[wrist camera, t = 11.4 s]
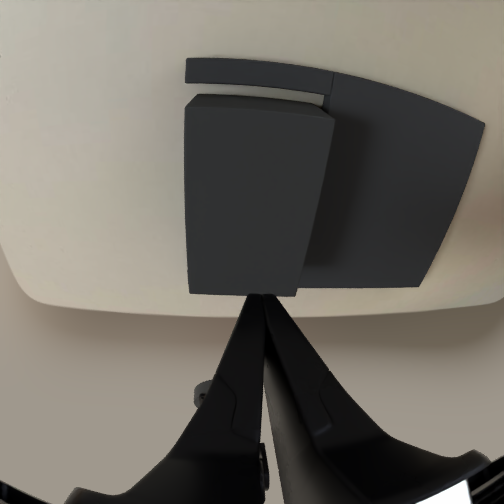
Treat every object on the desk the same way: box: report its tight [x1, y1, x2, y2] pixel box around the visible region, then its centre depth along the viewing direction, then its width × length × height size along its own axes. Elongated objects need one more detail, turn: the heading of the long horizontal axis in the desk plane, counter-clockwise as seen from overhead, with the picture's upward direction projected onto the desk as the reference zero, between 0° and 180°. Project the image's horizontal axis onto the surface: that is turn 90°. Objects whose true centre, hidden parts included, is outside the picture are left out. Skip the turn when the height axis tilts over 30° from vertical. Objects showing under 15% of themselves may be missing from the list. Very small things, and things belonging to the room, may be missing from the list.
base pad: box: [185, 58, 485, 288], centre depth 17 cm, size 14×18×1 cm
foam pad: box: [184, 94, 335, 297], centre depth 15 cm, size 10×6×4 cm, turn 175°
